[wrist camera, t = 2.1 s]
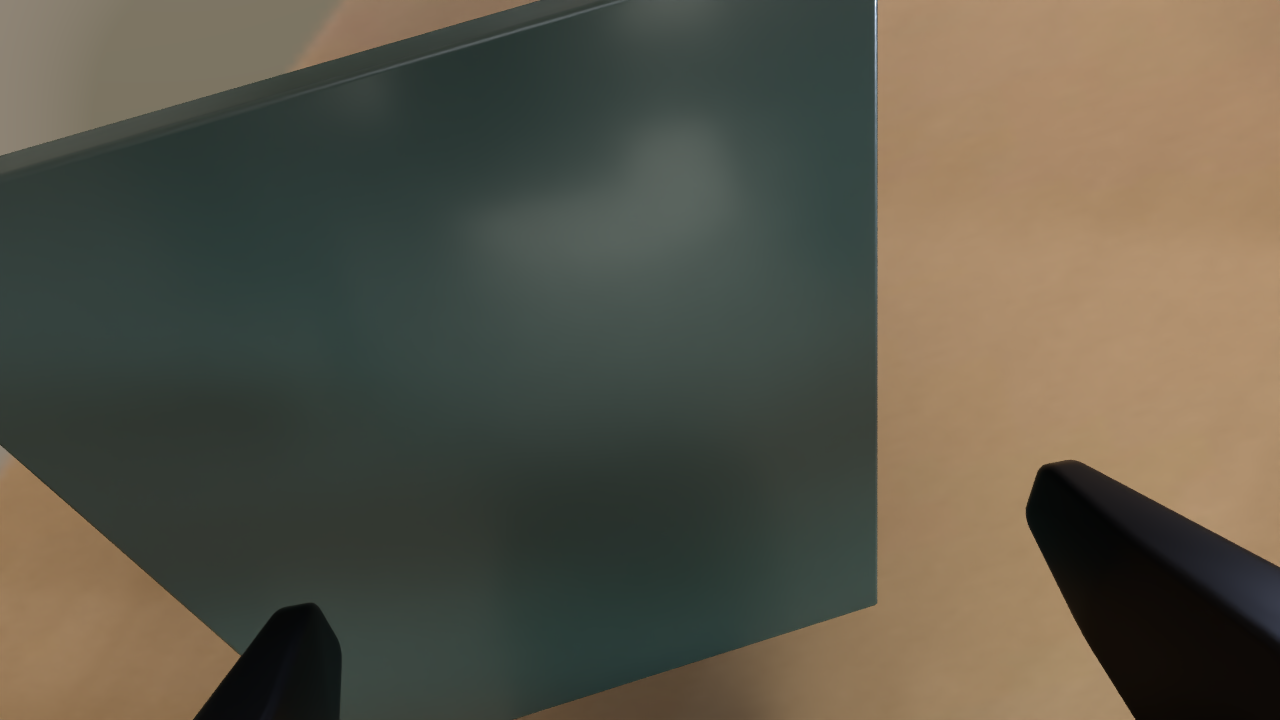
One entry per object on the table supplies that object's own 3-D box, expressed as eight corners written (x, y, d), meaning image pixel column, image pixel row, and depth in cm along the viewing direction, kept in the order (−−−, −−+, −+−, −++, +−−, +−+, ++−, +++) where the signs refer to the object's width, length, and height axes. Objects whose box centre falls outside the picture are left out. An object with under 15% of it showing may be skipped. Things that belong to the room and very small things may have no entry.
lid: (-184, 207, 8) (-236, 243, 7) (848, -91, 8) (881, -80, 8) (368, 730, 17) (366, 767, 16) (862, 575, 17) (878, 605, 16)
